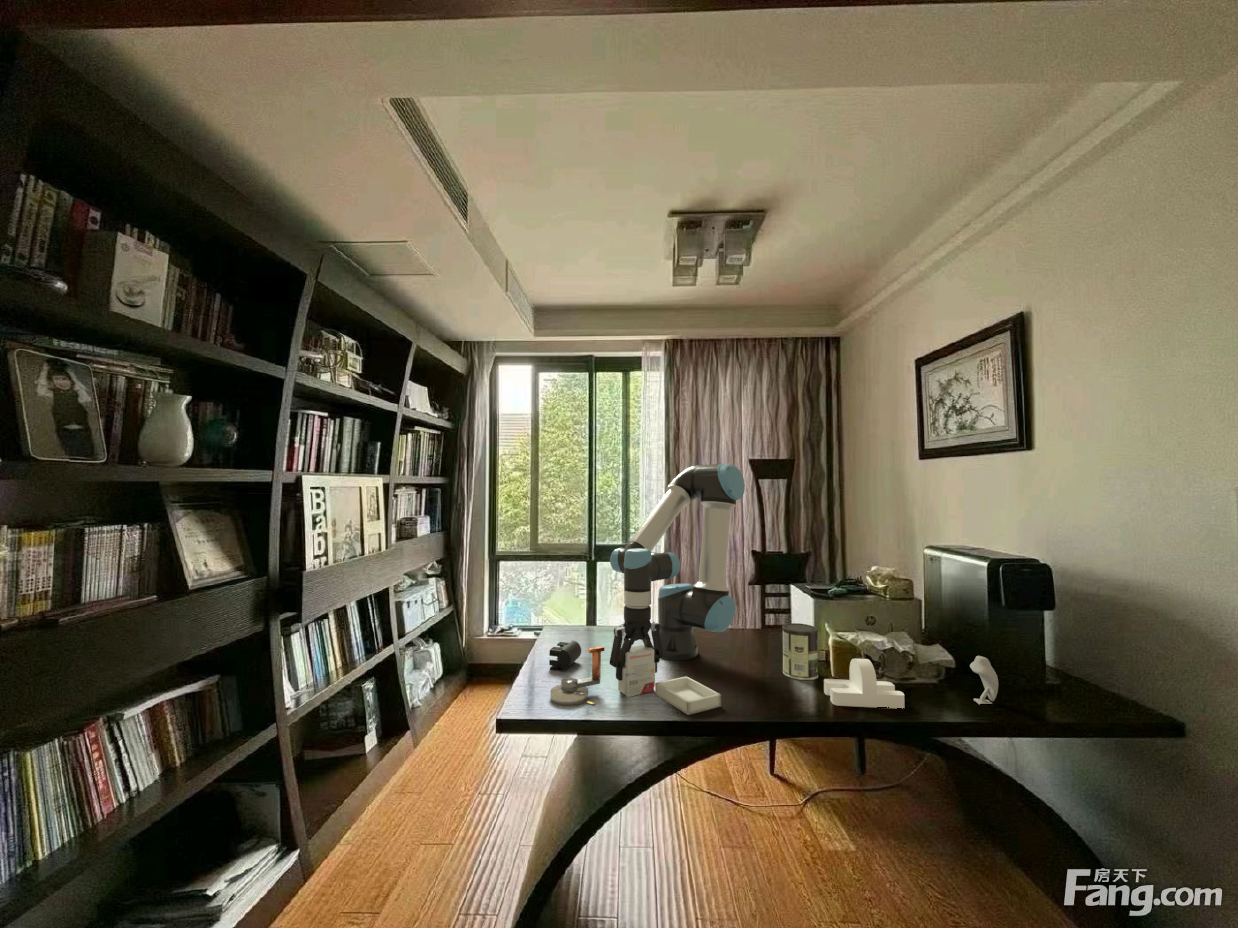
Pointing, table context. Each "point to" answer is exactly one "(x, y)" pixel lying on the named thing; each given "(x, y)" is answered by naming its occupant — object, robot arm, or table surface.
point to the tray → (688, 695)
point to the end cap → (564, 655)
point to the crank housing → (569, 696)
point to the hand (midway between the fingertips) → (636, 688)
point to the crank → (574, 684)
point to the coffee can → (800, 651)
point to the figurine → (985, 679)
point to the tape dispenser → (863, 688)
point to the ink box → (639, 670)
